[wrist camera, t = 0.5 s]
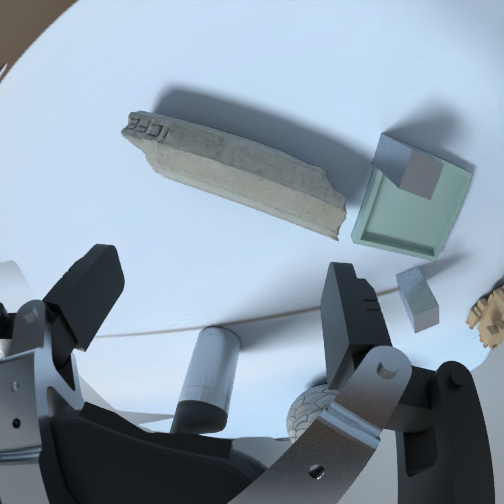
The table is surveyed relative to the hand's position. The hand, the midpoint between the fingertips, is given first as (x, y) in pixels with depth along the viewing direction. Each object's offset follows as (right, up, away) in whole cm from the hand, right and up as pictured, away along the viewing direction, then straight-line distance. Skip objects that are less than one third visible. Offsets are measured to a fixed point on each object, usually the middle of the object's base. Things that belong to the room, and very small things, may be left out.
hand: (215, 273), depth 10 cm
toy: (+59, -10, +34) cm, 68 cm away
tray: (+25, +8, +26) cm, 37 cm away
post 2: (+29, -4, +34) cm, 45 cm away
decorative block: (0, +13, +26) cm, 29 cm away
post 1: (+20, +14, +23) cm, 33 cm away
